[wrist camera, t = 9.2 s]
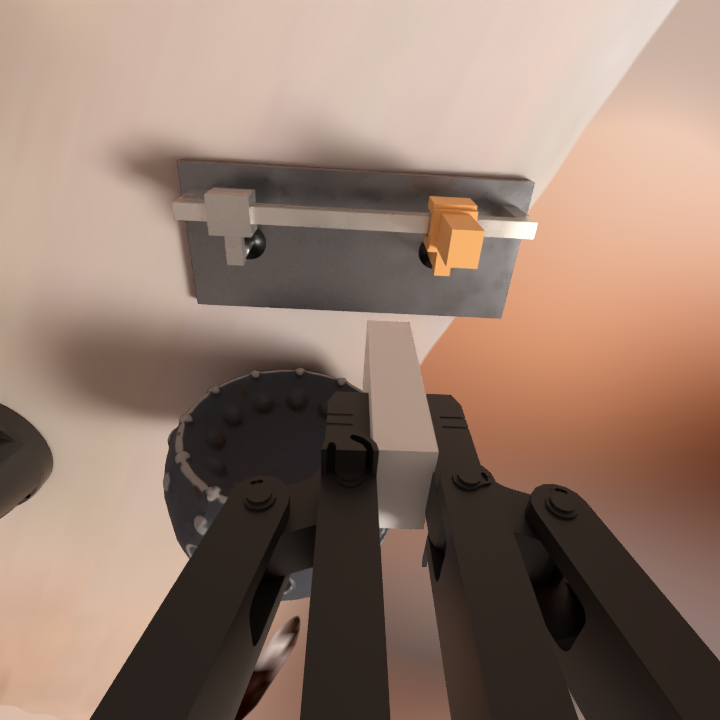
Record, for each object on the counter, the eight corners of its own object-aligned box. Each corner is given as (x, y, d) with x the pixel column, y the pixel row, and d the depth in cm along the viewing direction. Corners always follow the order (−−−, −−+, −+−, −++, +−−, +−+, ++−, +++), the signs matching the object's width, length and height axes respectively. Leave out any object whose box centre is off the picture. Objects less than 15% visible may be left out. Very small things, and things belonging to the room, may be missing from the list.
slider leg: (415, 257, 38) (432, 307, 30) (423, 187, 35) (445, 220, 27) (449, 259, 38) (476, 309, 30) (461, 189, 35) (494, 223, 27)
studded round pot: (201, 350, 45) (105, 516, 27) (399, 368, 46) (426, 536, 29) (208, 433, 50) (133, 612, 33) (385, 446, 51) (400, 625, 34)
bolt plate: (201, 299, 42) (197, 304, 41) (181, 159, 35) (176, 161, 34) (498, 313, 43) (501, 319, 42) (530, 180, 36) (535, 182, 35)
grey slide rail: (204, 241, 39) (178, 268, 33) (196, 175, 36) (166, 192, 30) (500, 257, 40) (524, 285, 34) (515, 193, 37) (543, 213, 31)
